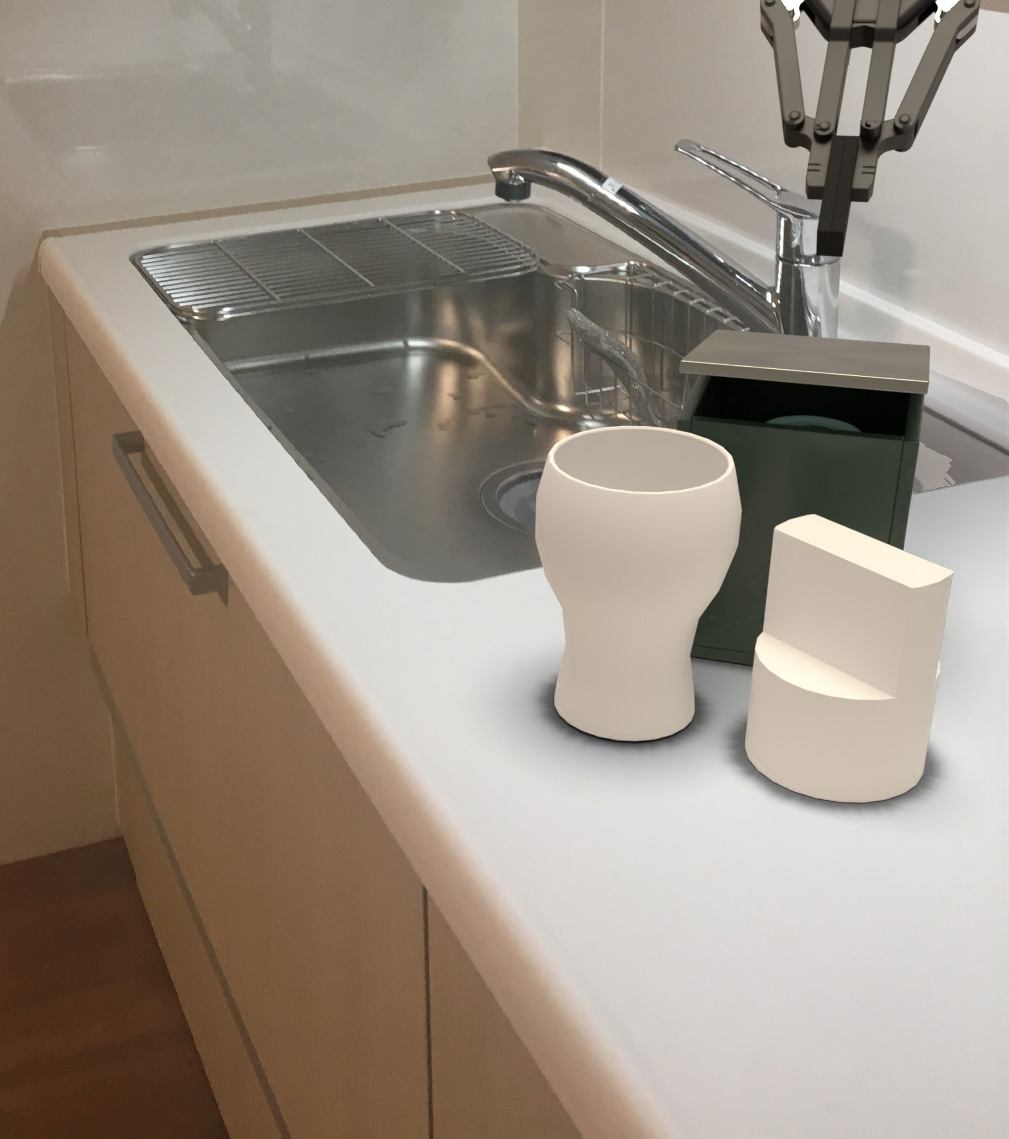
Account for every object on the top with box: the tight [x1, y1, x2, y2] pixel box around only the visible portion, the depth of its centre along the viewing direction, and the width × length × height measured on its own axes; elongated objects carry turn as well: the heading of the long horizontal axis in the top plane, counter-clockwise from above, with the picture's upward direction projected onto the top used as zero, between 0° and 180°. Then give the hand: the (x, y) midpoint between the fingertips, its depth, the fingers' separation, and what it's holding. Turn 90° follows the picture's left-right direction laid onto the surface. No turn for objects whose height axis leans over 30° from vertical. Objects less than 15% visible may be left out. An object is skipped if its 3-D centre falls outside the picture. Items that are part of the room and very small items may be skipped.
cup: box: [534, 425, 742, 742], centre depth 84 cm, size 11×11×15 cm
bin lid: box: [678, 329, 931, 395], centre depth 89 cm, size 16×13×1 cm
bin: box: [675, 375, 926, 666], centre depth 94 cm, size 15×13×15 cm
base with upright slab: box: [744, 514, 954, 803], centre depth 80 cm, size 9×9×12 cm
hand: (829, 244), depth 91 cm, fingers closed
